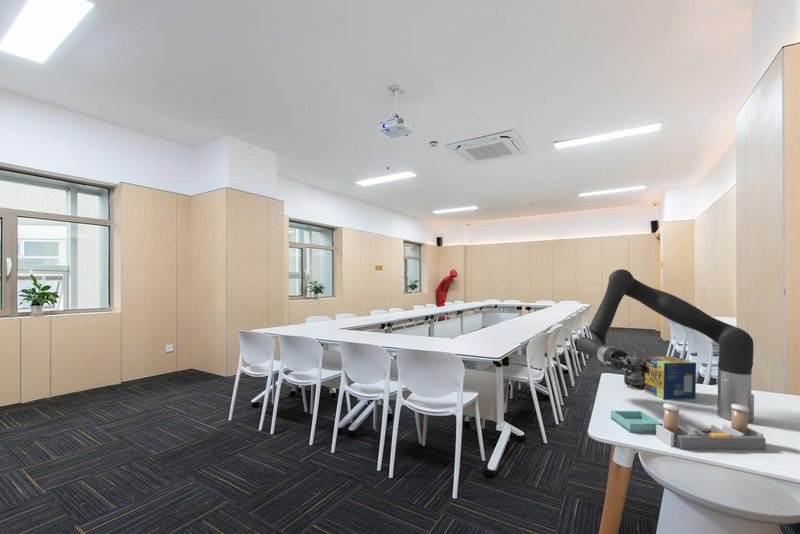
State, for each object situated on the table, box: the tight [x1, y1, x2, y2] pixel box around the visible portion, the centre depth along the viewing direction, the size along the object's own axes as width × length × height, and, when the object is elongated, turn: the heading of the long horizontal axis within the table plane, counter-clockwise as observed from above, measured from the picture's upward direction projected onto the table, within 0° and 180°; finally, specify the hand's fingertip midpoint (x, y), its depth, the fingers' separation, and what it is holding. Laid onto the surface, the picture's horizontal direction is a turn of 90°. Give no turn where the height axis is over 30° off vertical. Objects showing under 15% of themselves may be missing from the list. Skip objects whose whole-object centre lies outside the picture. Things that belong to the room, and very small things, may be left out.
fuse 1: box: [662, 402, 681, 444], centre depth 118 cm, size 4×4×11 cm
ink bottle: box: [623, 356, 645, 388], centre depth 174 cm, size 10×9×12 cm
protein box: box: [644, 356, 697, 400], centre depth 160 cm, size 10×15×16 cm
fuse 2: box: [730, 404, 749, 436], centre depth 118 cm, size 4×4×11 cm
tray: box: [610, 410, 664, 434], centre depth 128 cm, size 11×11×3 cm
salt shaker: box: [626, 353, 646, 391], centre depth 128 cm, size 6×6×12 cm
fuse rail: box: [654, 424, 766, 451], centre depth 118 cm, size 29×12×4 cm, turn 90°
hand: (641, 369), depth 125 cm, fingers closed on salt shaker, 3 cm apart
